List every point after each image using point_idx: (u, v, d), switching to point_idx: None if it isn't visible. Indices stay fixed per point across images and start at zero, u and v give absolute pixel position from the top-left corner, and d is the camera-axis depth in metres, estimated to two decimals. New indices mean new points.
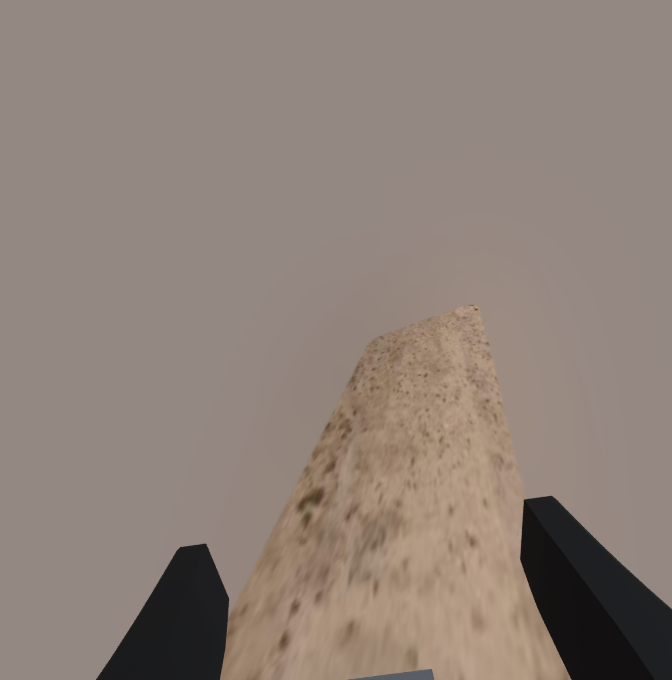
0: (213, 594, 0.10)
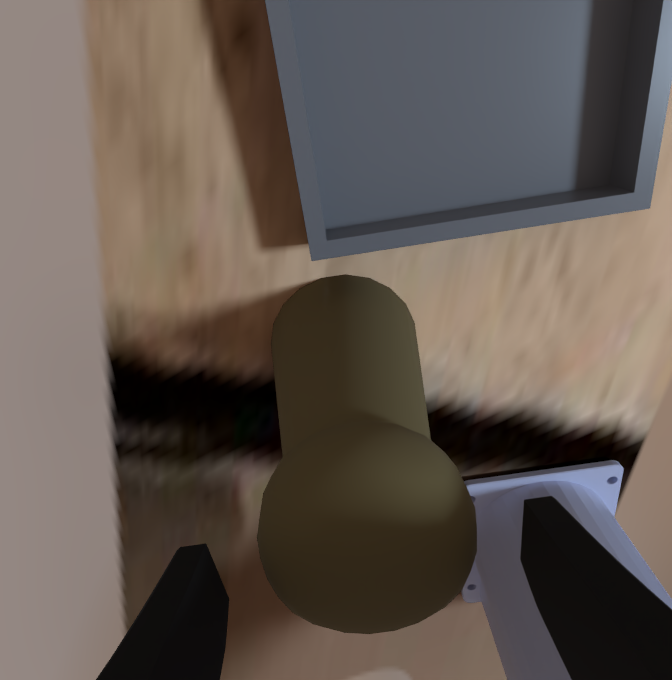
0: (213, 594, 0.10)
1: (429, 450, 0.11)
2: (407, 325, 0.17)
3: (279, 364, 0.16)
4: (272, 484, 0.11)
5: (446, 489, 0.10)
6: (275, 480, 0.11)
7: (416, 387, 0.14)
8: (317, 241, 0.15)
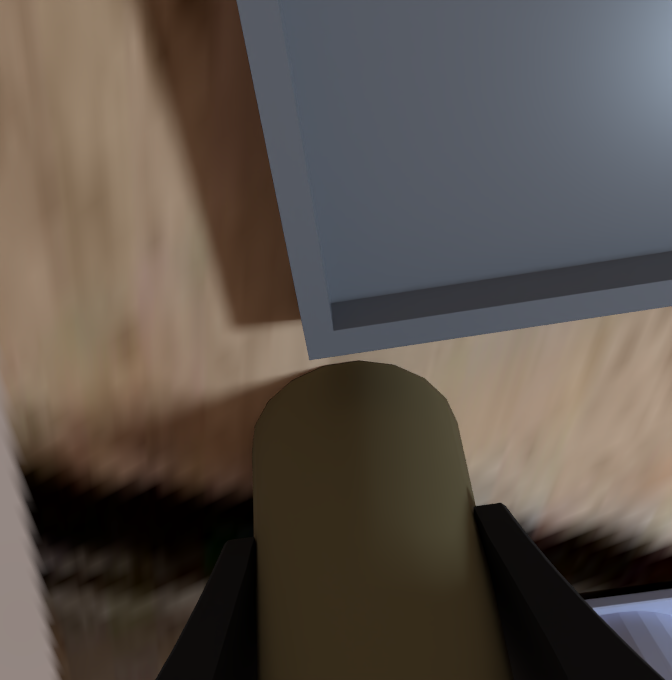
0: None
1: None
2: (454, 444, 0.11)
3: (259, 516, 0.10)
4: None
5: None
6: None
7: (486, 591, 0.08)
8: (318, 331, 0.10)
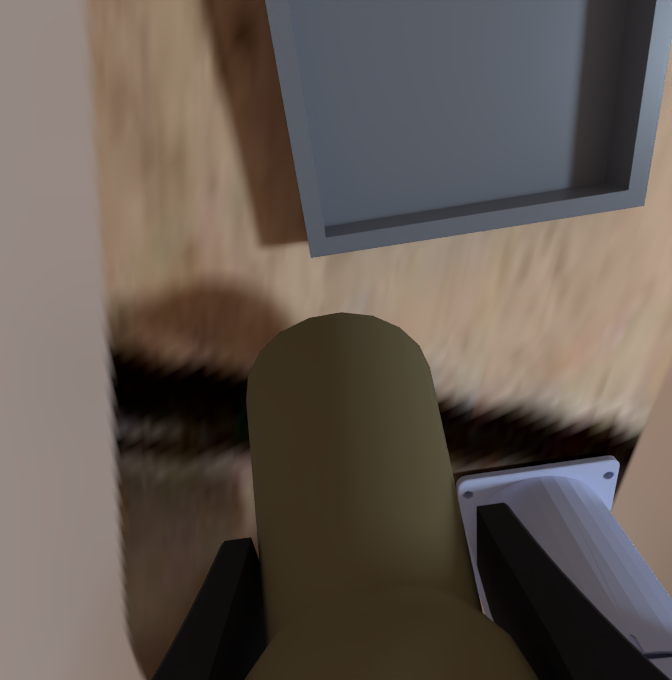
0: (258, 588, 0.10)
1: (499, 667, 0.06)
2: (425, 382, 0.13)
3: (256, 446, 0.12)
4: None
5: None
6: None
7: (449, 493, 0.10)
8: (316, 238, 0.16)
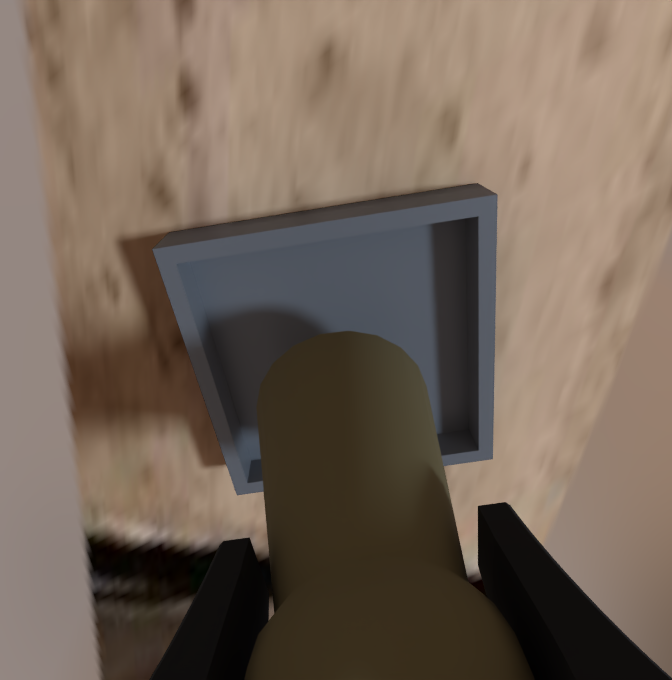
0: (257, 588, 0.10)
1: (484, 618, 0.08)
2: (423, 396, 0.14)
3: (268, 445, 0.13)
4: (261, 664, 0.08)
5: None
6: (266, 660, 0.07)
7: (443, 489, 0.11)
8: (240, 483, 0.20)
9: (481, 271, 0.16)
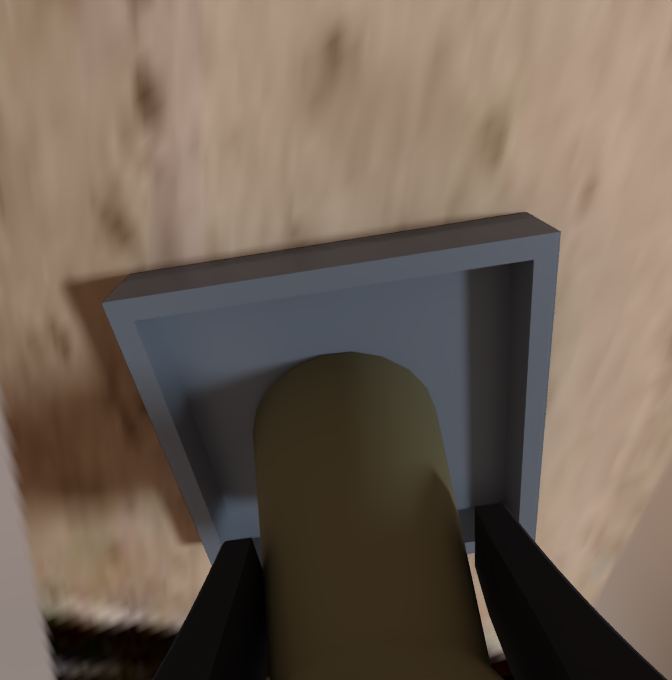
0: (259, 588, 0.10)
1: None
2: (433, 425, 0.13)
3: (264, 483, 0.12)
4: None
5: None
6: None
7: (458, 541, 0.10)
8: None
9: (533, 327, 0.12)
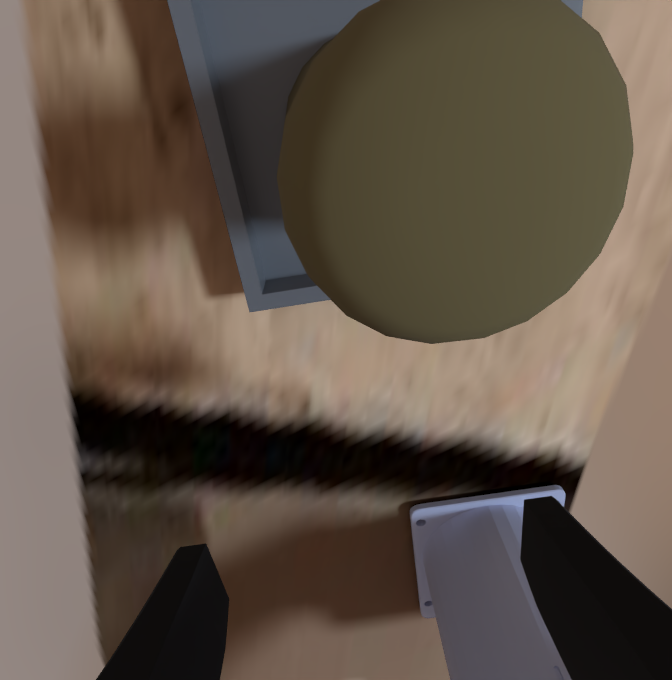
0: (213, 594, 0.10)
1: None
2: None
3: None
4: None
5: (602, 41, 0.06)
6: None
7: None
8: (253, 295, 0.17)
9: None
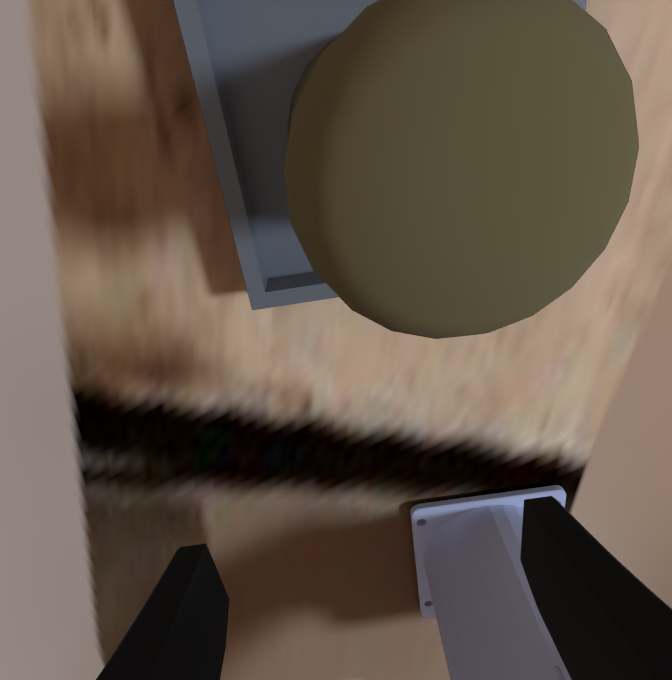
0: (213, 594, 0.10)
1: None
2: None
3: None
4: None
5: (608, 38, 0.06)
6: None
7: None
8: (256, 292, 0.17)
9: None
